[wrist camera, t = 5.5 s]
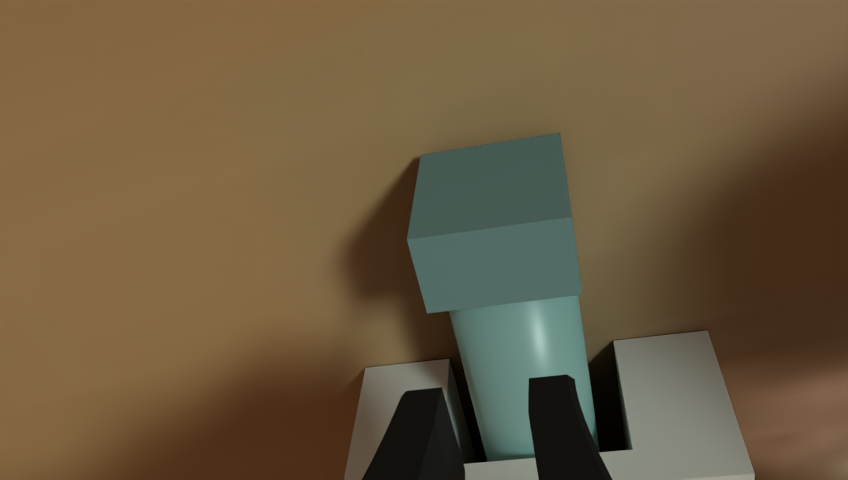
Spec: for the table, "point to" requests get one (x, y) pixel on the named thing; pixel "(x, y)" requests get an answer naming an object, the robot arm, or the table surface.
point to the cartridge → (503, 277)
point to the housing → (640, 405)
